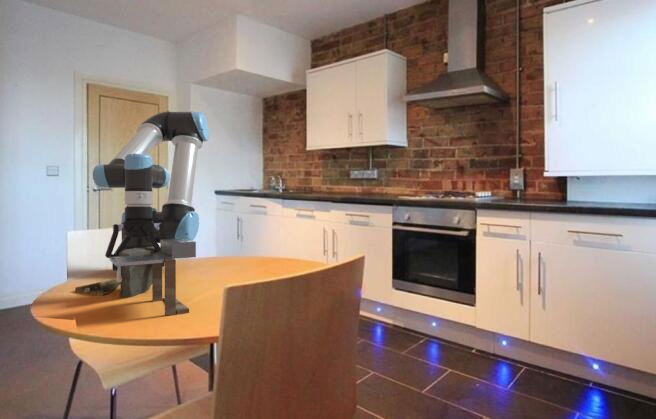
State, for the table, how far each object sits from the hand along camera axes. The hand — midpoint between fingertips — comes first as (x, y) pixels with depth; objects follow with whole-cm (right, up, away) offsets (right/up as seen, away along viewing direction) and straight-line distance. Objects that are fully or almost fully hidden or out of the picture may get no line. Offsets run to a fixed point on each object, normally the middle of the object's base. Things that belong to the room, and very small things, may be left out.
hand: (139, 279), depth 121 cm
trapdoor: (+10, +8, -15) cm, 20 cm away
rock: (-18, -7, +2) cm, 20 cm away
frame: (+14, -5, -12) cm, 19 cm away
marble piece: (0, -5, 0) cm, 5 cm away
